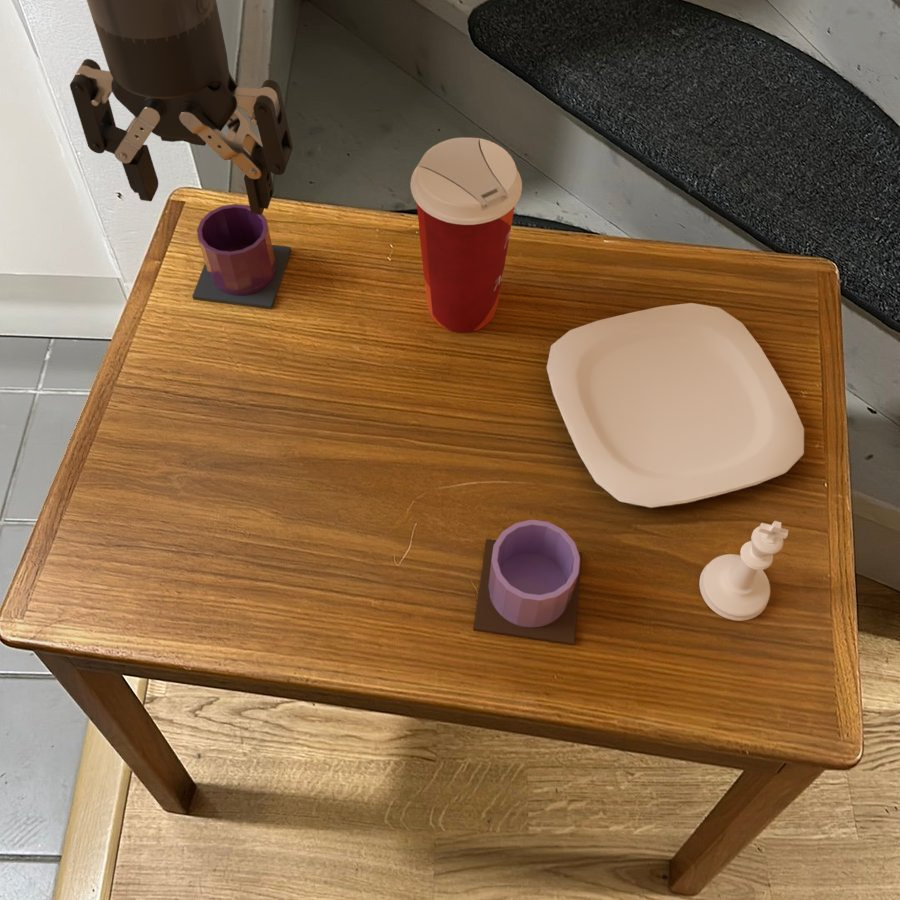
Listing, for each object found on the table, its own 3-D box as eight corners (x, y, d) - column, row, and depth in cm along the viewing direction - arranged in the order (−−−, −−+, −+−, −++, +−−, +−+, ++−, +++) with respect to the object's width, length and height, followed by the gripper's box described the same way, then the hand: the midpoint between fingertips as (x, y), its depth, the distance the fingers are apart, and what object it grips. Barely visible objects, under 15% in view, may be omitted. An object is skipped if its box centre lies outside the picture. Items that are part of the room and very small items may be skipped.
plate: (723, 302, 80) (728, 288, 79) (824, 475, 71) (832, 463, 70) (526, 346, 77) (528, 333, 76) (604, 532, 68) (608, 522, 67)
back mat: (192, 299, 80) (191, 296, 79) (215, 240, 83) (214, 237, 83) (272, 309, 79) (271, 306, 79) (291, 250, 83) (291, 246, 82)
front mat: (473, 630, 64) (473, 628, 64) (486, 540, 68) (486, 538, 67) (573, 645, 64) (574, 643, 63) (581, 554, 67) (582, 551, 67)
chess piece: (764, 629, 64) (814, 569, 56) (694, 609, 65) (732, 548, 57) (772, 567, 67) (821, 501, 58) (704, 549, 68) (743, 481, 59)
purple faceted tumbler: (201, 291, 80) (188, 250, 75) (220, 242, 83) (208, 200, 78) (267, 299, 79) (257, 258, 75) (283, 250, 82) (275, 208, 78)
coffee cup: (528, 316, 79) (546, 180, 66) (449, 358, 77) (452, 226, 64) (472, 256, 83) (479, 116, 70) (395, 294, 80) (387, 157, 67)
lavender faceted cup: (483, 621, 64) (486, 592, 60) (493, 546, 67) (497, 514, 63) (566, 633, 64) (576, 605, 59) (573, 557, 67) (582, 526, 62)
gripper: (281, -25, 58) (308, 178, 71) (61, -49, 59) (130, 156, 72) (250, 47, 54) (285, 247, 67) (14, 20, 55) (96, 223, 68)
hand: (204, 200), depth 70 cm, fingers open, 8 cm apart
